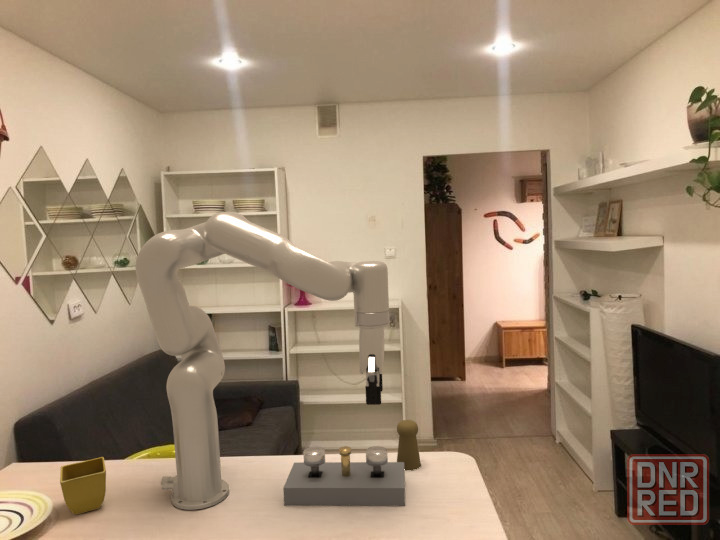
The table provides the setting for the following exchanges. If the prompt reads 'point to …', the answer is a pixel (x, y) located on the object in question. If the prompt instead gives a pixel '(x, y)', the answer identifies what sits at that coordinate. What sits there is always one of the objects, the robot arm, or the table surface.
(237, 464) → the table surface
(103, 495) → the flower pot
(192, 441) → the robot arm
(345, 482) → the mount
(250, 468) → the table surface
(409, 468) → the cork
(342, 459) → the brass shaft
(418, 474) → the table surface
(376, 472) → the knob
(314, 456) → the knob
